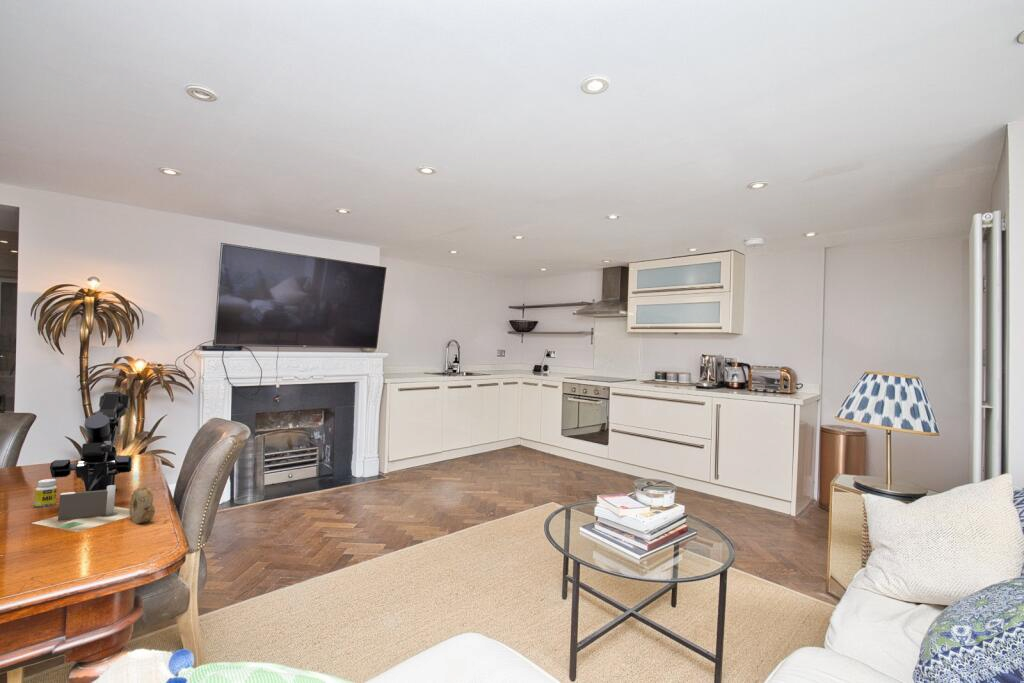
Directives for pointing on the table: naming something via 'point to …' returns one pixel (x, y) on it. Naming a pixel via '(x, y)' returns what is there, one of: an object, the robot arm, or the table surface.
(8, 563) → the table surface
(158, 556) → the table surface
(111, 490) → the grey upright slab
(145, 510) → the stone disc
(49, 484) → the supplement bottle
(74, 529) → the cream square board
